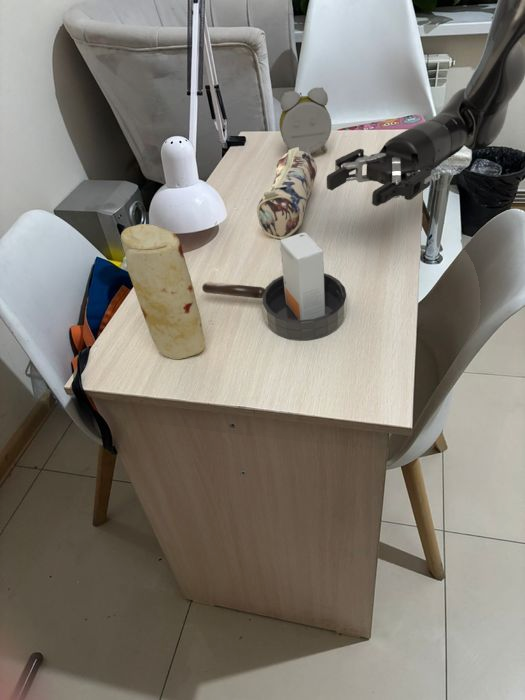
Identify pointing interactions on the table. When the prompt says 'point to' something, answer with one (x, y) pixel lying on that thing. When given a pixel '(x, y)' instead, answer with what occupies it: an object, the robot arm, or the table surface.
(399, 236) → the table surface
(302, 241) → the cosmetic box
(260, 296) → the pan handle
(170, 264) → the food model
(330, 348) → the table surface
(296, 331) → the frying pan
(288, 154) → the pencil case
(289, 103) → the alarm clock
